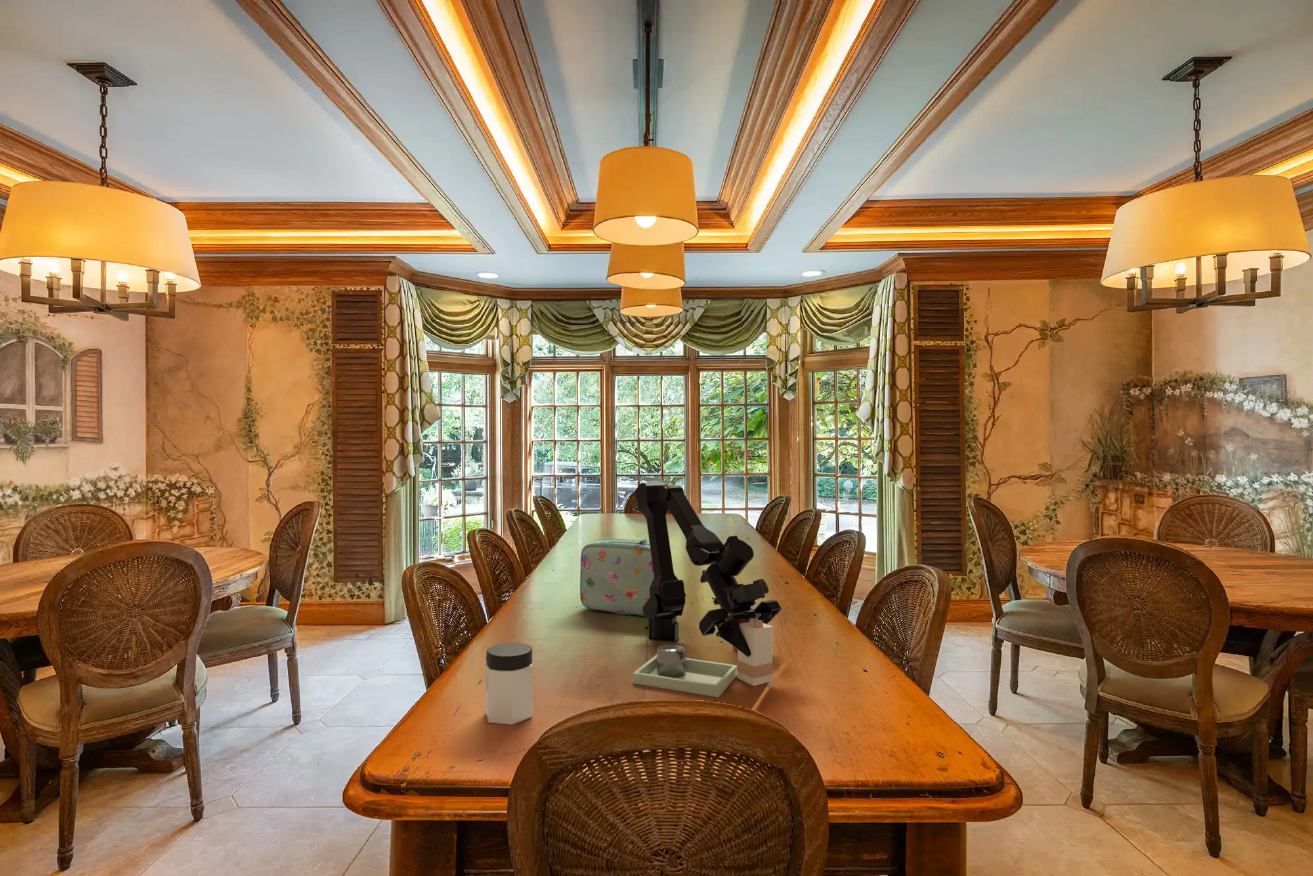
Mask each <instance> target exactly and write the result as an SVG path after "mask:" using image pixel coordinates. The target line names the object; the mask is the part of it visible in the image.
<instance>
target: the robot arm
mask: <svg viewBox="0 0 1313 876" xmlns="http://www.w3.org/2000/svg"><path fill="white" fill-rule="evenodd" d="M634 496H635V499H636V504H637V508H638V510H639V511H640V513H641V514H642V515H643V516H644V518H645V520H646V527H647V533H648V534H647V535H648V540H649V542H650V550H651V557H652V564H653V572H654V578H653V581H652V583H651V586H650V589H649V592H650V598H649V599H648V601H647V602H646V603H645V605H644V606H643V608H642V609H643V615H644V616H643V617H644V618H647V619H648V640H654V641H657V642H658V641H659V642H669V643H676V642H677V641H678V640H679V639H680V635H679V622H678V621H677V620H678V617H680V616H683V613H684V609H685V605H686V597H687V594H686V591H685V583H684V580H683V579H679V578H678V577H677V575H676V574H675V571H674V565H673V558H672V549H671V544H670V536H669V529H668V522H667V514H668V512H669V511H670V513H671V515H672V517H673V519H674V520H675V522H676V524H677V526H678V528H680V531H681V532H682V534H683V535H684V537H685V541H686V542H685V551H686V552H687V555H688V558H689V560H690V561H691V563H692V565H694V566H697V567H703V566H707V568H706V569H704V570H702V571H701V576H700V579H699V580H700V581H699V582H700V583H701V584H704V583H708V585H709V587H710V589H711V591H712V593H713V595H714V599H713V604H714V606H719V607H720V608H716V609H710V610H708V611H707V612H706V614H705V615H704V616H703V617H702V619H701V620H700V621H699V623H698V629H699V631H700V633H701V635H702V636H703V637H706V636H711V635H713V634H715V632H716V629H717V632H716V634H715V636H716V637H717V638H719V637H720V638H721V639H723V640H724V641H726V642H727V643H729V645H731V646H732V647H733V646H734V647H736V648H737V649H738V650H739V651H741V652H742V653H743V654H744V655H746V656H747V657H749V656H750V655H751V652H750V649H749V646H748V644H747V642H746V640H745V638H744V636H743V634H742V632H741V630H740V624H739V621H744V620H749V621H750V622H752V621H754V620H761V621H763V623H764V624H767V625H769V623H771V621H772V620H774V618H775V617H776V616H777V615H778V614H779V613H780V612H781V611H782V607H781V605H780V604H779V601H778V600H776V599H769V600H768V599H767V600H762V601H760V602H759V605H758V606H757V607H756V608H755V609H751V606H754V605H755V603H757V602H756V601H757V600H759V599H765V598H766V594H768V593H769V592H770V591H769V585H768V584H767V582H766V581H765V579H764V578H759V579H756V580H753V581H752V583H748V584H744V583H738V581H737V578H736V576H739V575H740V574H742V572H743V571H744V569H745V568H746V567H747V566H748V565H749V563H750V562H751V561H752V560H753V558H754V555H755V554H754V549H753V548H752V546H750V545H749V544H748V543H747V542H745V540H742V539H739V537H738V535H729V536H728V537H727V539H726V541H725V542H724V544H723V541H722V540H721V539H720V537H718V536H717V534H716V533H715V532H714V531H711V530H710V529H708V528H707V527H705V525H704V524H703V523H702V520H701V519H700V517H699V516H698V515H697V513H696V511H695V510H694V508H693V507H692V504H691V503H690V501H689V500H688V498H687V496H686V495H685V489H684V488H683V486H681V485H678V484H676V485H675V484H672V485H670V484H669V485H668V484H666V482H663V481H657V482H656V481H654V482H652V481H651V482H641V483H639V484H638V485H637V487H636V489H635V492H634Z"/></svg>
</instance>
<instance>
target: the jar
mask: <svg viewBox="0 0 1313 876" xmlns="http://www.w3.org/2000/svg"><path fill="white" fill-rule="evenodd" d="M485 654H486V655H485V715H486V719H487V723H489V724H499V725H510V726H512V725H515V724H518V723H520V722H523V721H525V720H528V719H530V718H532V717H533V716H534V715H533V714H534V713H533V711H534V707H533V706H534V705H533V704H534V699H533V698H534V665H533V647H532V646H531V645H529V644H528V643H523V642H502V643H498V644H497V643H496V644H494V645H492V646H490V647H488V648H487V649H486V653H485Z"/></svg>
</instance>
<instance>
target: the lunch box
mask: <svg viewBox="0 0 1313 876" xmlns="http://www.w3.org/2000/svg"><path fill="white" fill-rule="evenodd" d="M579 572H580V577H579V596H580V602H581V604H582V606H583V607H585V608H586V609H588V610H595V611H604V612H609V613H610V612H611V613H614V614H619V615H633V616H643V617H644V615H643V609H642V608H643V606H644V605H645V603H646V602H647V601H648V599H649V598H650V592H649V589H650V586H651V583H652V581H653V578H654V572H653V564H652V557H651V550H650V542H649V539H647V538H645V537H644V538H642V539H626V538H613V537H601V538H600V537H599V538H597V539H595V540H593V541H592V542H590V543H589V544H586V545H584V546H583V547H582V549H581V553H580V570H579Z"/></svg>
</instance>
